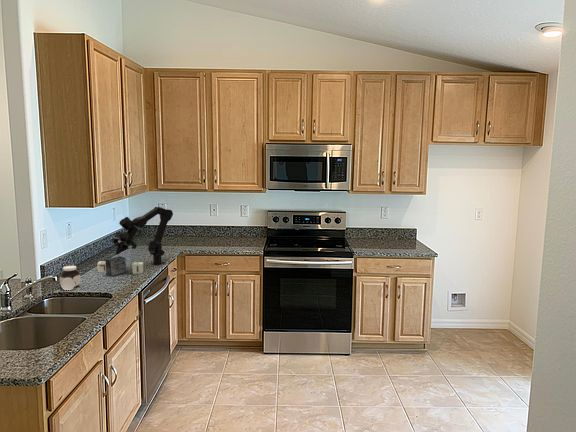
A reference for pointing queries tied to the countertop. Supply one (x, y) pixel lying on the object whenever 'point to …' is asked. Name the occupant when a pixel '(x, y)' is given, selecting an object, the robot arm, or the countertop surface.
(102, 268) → the cream block seven
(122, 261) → the small box
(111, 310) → the countertop surface
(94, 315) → the countertop surface
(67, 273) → the spread jar
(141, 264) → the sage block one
